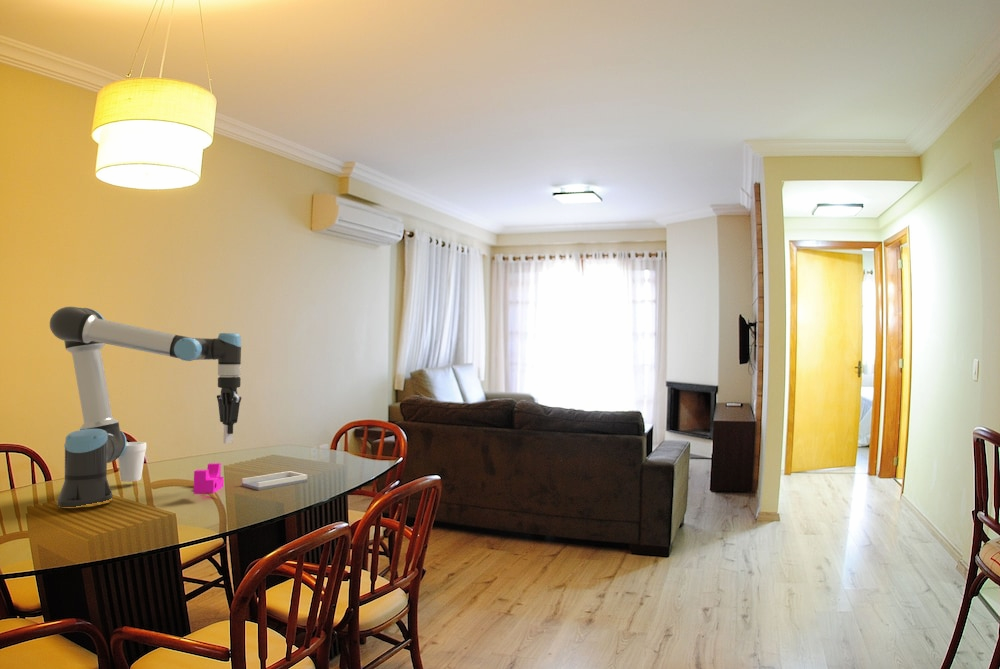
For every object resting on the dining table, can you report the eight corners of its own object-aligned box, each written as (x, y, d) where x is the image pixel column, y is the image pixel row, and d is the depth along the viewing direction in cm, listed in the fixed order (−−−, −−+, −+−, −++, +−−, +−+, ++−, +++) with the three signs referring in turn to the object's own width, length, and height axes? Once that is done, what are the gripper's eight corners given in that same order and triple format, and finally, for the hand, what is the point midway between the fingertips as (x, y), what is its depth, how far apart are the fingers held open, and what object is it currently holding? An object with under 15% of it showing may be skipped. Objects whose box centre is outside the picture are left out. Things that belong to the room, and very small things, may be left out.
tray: (258, 490, 227) (259, 482, 227) (241, 485, 234) (241, 478, 234) (307, 481, 241) (307, 474, 242) (289, 477, 249) (289, 471, 249)
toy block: (213, 493, 222) (213, 471, 222) (193, 494, 222) (194, 471, 222) (227, 484, 237) (228, 463, 237) (209, 484, 237) (209, 463, 237)
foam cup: (132, 483, 238) (133, 446, 238) (109, 481, 240) (110, 445, 240) (151, 477, 247) (152, 442, 247) (129, 476, 249) (130, 441, 249)
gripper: (248, 376, 238) (247, 443, 238) (229, 375, 247) (228, 440, 246) (228, 377, 233) (227, 445, 232) (209, 376, 241) (208, 442, 240)
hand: (228, 442), depth 239 cm, fingers closed
